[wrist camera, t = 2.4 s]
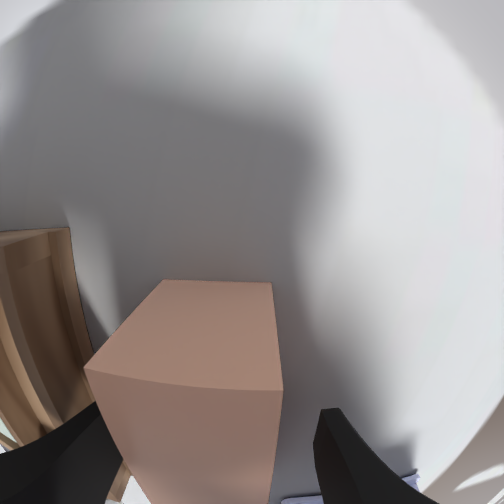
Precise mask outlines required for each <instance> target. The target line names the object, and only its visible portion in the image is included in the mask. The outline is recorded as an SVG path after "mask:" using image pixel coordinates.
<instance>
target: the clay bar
mask: <svg viewBox="0 0 504 504" xmlns="http://www.w3.org/2000/svg"><path fill="white" fill-rule="evenodd" d="M83 368H84V371H85V374H86V377H87V379H88V382H89V385H90V388H91V390H92V393H93V395H94V398H95V400H96V403H97V405H98V407H99V410H100V412H101V414H102V417H103V419H104V421H105V423H106V425H107V428H108V430H109V432H110V434H111V436H112V438H113V440H114V442H115V444H116V446H117V448H118V450H119V452H120V453H121V455H122V457H123V459H124V461H125V462H126V464H127V466H128V468H129V469H130V471H131V473H132V475H133V476H134V478H135V479H136V481H137V483H138V484H139V486H140V487H141V489H142V491H143V492H144V494H145V495H146V497H147V498H148V500H149V501H150V502H151V504H268V501H269V495H270V489H271V482H272V476H273V469H274V462H275V455H276V448H277V441H278V433H279V425H280V417H281V408H282V399H283V381H282V371H281V362H280V353H279V344H278V335H277V326H276V317H275V309H274V300H273V292H272V283H271V282H227V281H196V280H172V279H163V280H162V281H161V282H160V283H159V284H158V285H157V286H156V287H155V288H154V289H153V291H152V292H151V293H150V294H149V295H148V296H147V297H146V298H145V299H144V300H143V301H142V302H141V303H140V304H139V305H138V307H137V308H136V309H135V310H134V311H133V312H132V313H131V314H130V315H129V316H128V317H127V319H126V320H125V321H124V322H123V323H122V324H121V325H120V326H119V327H118V329H117V330H116V331H115V332H114V333H113V334H112V335H111V336H110V337H109V339H108V340H107V341H106V342H105V343H104V344H103V345H102V347H101V348H100V349H99V350H98V351H97V352H96V353H95V355H94V356H93V357H92V358H91V359H90V360H89V362H88V363H87V364H86V365H85V366H84V367H83Z"/></svg>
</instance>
